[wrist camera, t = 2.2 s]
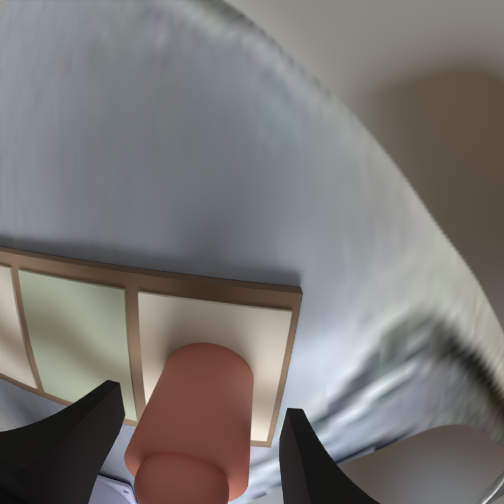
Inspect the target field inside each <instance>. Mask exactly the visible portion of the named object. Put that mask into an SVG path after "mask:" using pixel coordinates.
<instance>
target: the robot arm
mask: <svg viewBox="0 0 504 504" xmlns="http://www.w3.org/2000/svg"><path fill="white" fill-rule="evenodd" d="M125 415H126V414H125V409H124V404H123V398H122V392H121V386H120V383H119V382H115V381H112V380H106V381H105V382H103V383H102V384H101V385H99V386H98V387H96V388H95V389H94V390H92V391H91V392H89V393H88V394H86V395H85V396H84V397H82V398H81V399H79V400H78V401H76V402H75V403H73V404H71V405H70V406H68V407H66V408H65V409H63V410H61V411H60V412H58V413H56V414H54V415H52V416H50V417H48V418H45V419H43V420H41V421H38V422H36V423H33V424H30V425H27V426H24V427H21V428H17V429H13V430H8V431H3V432H0V504H137V502H136V499H135V496H134V494H133V491H132V488H131V486H130V485H128V484H126V483H123V482H119V481H116V480H113V479H110V478H107V477H104V476H101V475H98V473H99V471H100V469H101V467H102V465H103V463H104V461H105V459H106V457H107V455H108V454H109V452H110V450H111V448H112V446H113V444H114V442H115V440H116V438H117V436H118V434H119V432H120V429H121V427H122V424H123V421H124V418H125ZM279 462H280V472H281V481H282V490H283V499H284V504H380V503H378V502H377V501H375V500H374V499H373V498H371V497H370V496H368V495H367V494H366V493H365V492H364V491H362V490H361V489H360V488H359V487H358V486H357V485H355V484H354V483H353V482H352V481H351V480H350V479H349V478H348V477H347V476H346V475H345V474H344V473H343V472H342V470H341V469H340V468H339V467H338V466H337V464H336V463H335V462H334V461H333V459H332V458H331V457H330V455H329V454H328V453H327V451H326V450H325V448H324V447H323V445H322V444H321V442H320V440H319V439H318V437H317V436H316V434H315V432H314V430H313V429H312V427H311V425H310V423H309V421H308V419H307V417H306V415H305V413H304V411H303V410H302V409H297V408H287V412H286V416H285V420H284V424H283V427H282V431H281V435H280V441H279Z"/></svg>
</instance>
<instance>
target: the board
mask: <svg viewBox="0 0 504 504" xmlns="http://www.w3.org/2000/svg"><path fill="white" fill-rule="evenodd" d="M302 295H303V294H302V290H301V287H293V286H283V285H274V284H265V283H255V282H247V281H238V280H229V279H221V278H212V277H204V276H196V275H188V274H180V273H172V272H165V271H157V270H150V269H142V268H135V267H128V266H121V265H114V264H107V263H100V262H93V261H87V260H80V259H73V258H67V257H61V256H54V255H48V254H42V253H36V252H30V251H24V250H18V249H12V248H6V247H1V246H0V378H2V379H4V380H6V381H8V382H10V383H12V384H14V385H16V386H19V387H21V388H23V389H25V390H28V391H30V392H32V393H35V394H37V395H39V396H42V397H44V398H47V399H49V400H52V401H55V402H57V403H60V404H63V405H65V406H70V405H71V404H73V403H75V402H76V401H78V400H79V399H81V398H82V397H84V396H85V395H86V394H88V393H89V392H91V391H92V390H94V389H95V388H96V387H98V386H99V385H101V384H102V383H103V382H105V381H106V380H112V381H115V382H119V383H120V386H121V392H122V398H123V404H124V409H125V414H126V415H125V418H124V421H123V424H126V425H130V426H134V427H137V425H138V423H139V421H140V418H141V416H142V414H143V412H144V410H145V407H146V405H147V403H148V401H149V399H150V397H151V394H152V392H153V390H154V388H155V386H156V384H157V382H158V379H159V377H160V375H161V373H162V371H163V369H164V367H165V365H166V362H167V360H168V359H169V357H170V356H171V355H172V353H173V352H175V351H176V350H177V349H179V348H181V347H183V346H185V345H188V344H192V343H213V344H218V345H221V346H224V347H226V348H229V349H230V350H232V351H234V352H235V353H237V354H238V355H240V356H241V357H242V358H243V359H244V360H245V361H246V363H247V364H248V366H249V367H250V369H251V371H252V374H253V379H254V385H253V405H252V424H251V443H250V446H256V447H270V448H271V444H272V440H273V436H274V432H275V427H276V423H277V419H278V414H279V410H280V406H281V401H282V397H283V392H284V387H285V383H286V378H287V373H288V368H289V364H290V359H291V354H292V349H293V343H294V338H295V333H296V328H297V322H298V317H299V311H300V306H301V300H302Z"/></svg>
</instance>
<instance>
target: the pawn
mask: <svg viewBox="0 0 504 504" xmlns="http://www.w3.org/2000/svg"><path fill="white" fill-rule="evenodd" d="M253 385H254V379H253V374H252V371H251V369H250V367H249V366H248V364H247V363H246V361H245V360H244V359H243V358H242V357H241V356H240V355H238V354H237V353H235V352H234V351H232V350H230V349H229V348H226V347H224V346H221V345H218V344H213V343H192V344H188V345H185V346H183V347H181V348H179V349H177V350H176V351H175V352H173V353H172V355H171V356H170V357H169V359H168V360H167V362H166V365H165V367H164V369H163V371H162V373H161V375H160V377H159V379H158V382H157V384H156V386H155V388H154V390H153V392H152V394H151V397H150V399H149V401H148V403H147V405H146V407H145V410H144V412H143V414H142V416H141V418H140V421H139V423H138V425H137V427H136V429H135V432H134V434H133V436H132V438H131V440H130V443H129V445H128V447H127V449H126V452H125V457H124V459H125V464H126V466H127V468H128V470H129V471H130V473H131V474H132V475H133V476H134V477H135V481H134V490H135V495H136V498H137V500H138V502H139V504H228V502H229V501H232V500H234V499H236V498H238V497H239V496H241V495H242V494H243V493H244V492H245V491H246V489H247V487H248V479H249V461H250V443H251V424H252V405H253Z"/></svg>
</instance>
